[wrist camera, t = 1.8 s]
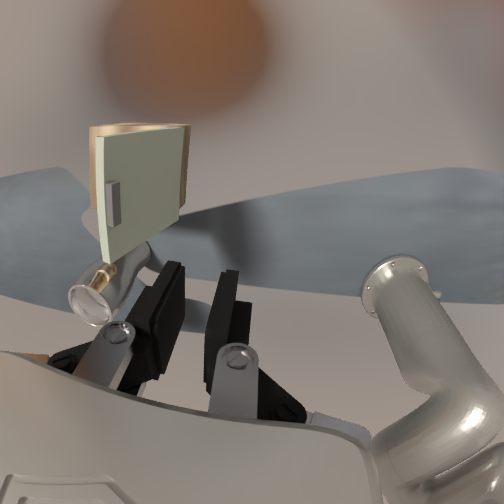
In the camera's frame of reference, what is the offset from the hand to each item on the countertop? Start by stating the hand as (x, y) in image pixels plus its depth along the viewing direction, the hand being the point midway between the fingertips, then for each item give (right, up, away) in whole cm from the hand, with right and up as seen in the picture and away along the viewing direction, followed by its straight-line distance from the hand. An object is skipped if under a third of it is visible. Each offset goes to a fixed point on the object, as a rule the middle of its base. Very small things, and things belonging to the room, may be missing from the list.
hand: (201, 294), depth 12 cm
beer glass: (-17, +2, +31) cm, 35 cm away
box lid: (-9, +8, +13) cm, 18 cm away
